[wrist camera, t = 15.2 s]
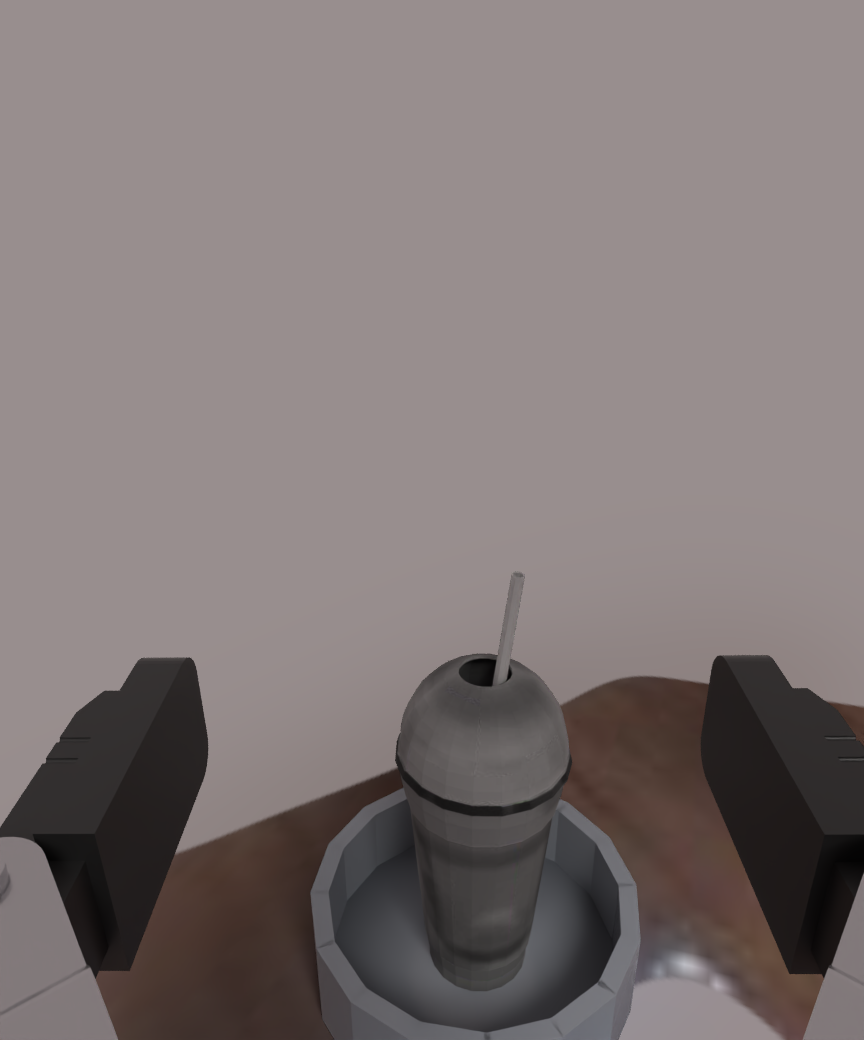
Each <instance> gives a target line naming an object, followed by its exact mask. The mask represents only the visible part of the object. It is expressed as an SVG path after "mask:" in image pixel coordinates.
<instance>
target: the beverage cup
mask: <svg viewBox="0 0 864 1040" xmlns="http://www.w3.org/2000/svg"><path fill="white" fill-rule="evenodd" d="M524 578H525V574H523V573H522V572H516V571H515V572H513V573H512V575H511V581H510V587H509V593H508V598H507V604H506V610H505V617H504V622H503V628H502V633H501V639H500V645H499V650H498V655H493V654H472V655H466V656H461V657H458V658H456V659H454V660H451V661H448V662H447V663H445V664H443V665H441V666H440V667H438V668H437V669H436V670H434V671H433V672H432V673H431V674H429V676H427V678H425V679H424V680H423V681H422V682H421V684H420V685H419V687H418V688H417V689H416V691H415V693H414V694H413V696H412V698H411V699H410V701H409V703H408V705H407V707H406V709H405V712H404V715H403V719H402V723H401V733H400V734H399V737H398V740H397V747H396V759H395V761H396V764H397V766H398V769H399V771H400V776H401V780H402V783H403V787H404V791H405V795H406V798H407V800H408V803H409V806H410V810H411V818H412V826H413V834H414V842H415V850H416V858H417V866H418V874H419V882H420V890H421V898H422V906H423V914H424V922H425V930H426V933H427V935H428V941H429V944H430V955H431V957H432V960H433V963H434V966H435V967H436V969H437V970H438V971H439V973H440V974H441V975H442V976H443V978H445V979H446V980H448V981H449V982H451V983H452V984H454V985H455V986H457V987H460V988H463V989H466V990H470V991H490V990H493V989H496V988H500V987H502V986H504V985H505V984H507V983H508V982H509V981H511V980H512V979H514V978H515V976H516V975H517V973H518V972H519V970H520V969H521V968H522V965H523V961H524V957H525V951H526V946H527V945H528V941H529V937H530V934H531V929H532V924H533V919H534V913H535V908H536V903H537V897H538V892H539V886H540V881H541V876H542V870H543V865H544V860H545V854H546V849H547V844H548V838H549V833H550V828H551V822H552V817H553V816H554V814H555V811H556V808H557V806H558V803H559V800H560V797H561V793H562V790H563V786H564V784H565V783H566V782H567V780H568V776H569V772H570V768H571V765H572V759H571V754H570V750H569V741H568V736H567V731H566V726H565V721H564V717H563V713H562V710H561V708H560V705H559V703H558V701H557V700H556V698H555V697H554V695H553V693H552V692H551V691H550V690H549V688H548V687H547V685H546V684H545V683H544V681H543V680H542V679H541V678H540V677H539V676H538V675H537V674H536V673H534V672H533V671H531V670H530V669H528V668H527V667H525V666H524V665H522V664H521V663H519V662H517V661H515V660H512V659H510V656H511V651H512V645H513V640H514V635H515V629H516V623H517V618H518V612H519V607H520V601H521V595H522V589H523V584H524Z"/></svg>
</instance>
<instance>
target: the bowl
mask: <svg viewBox="0 0 864 1040" xmlns="http://www.w3.org/2000/svg"><path fill="white" fill-rule="evenodd" d="M310 894H311V905H312V917H313V928H314V939H315V951H316V962H317V972H318V982H319V991H320V1001H321V1011H322V1020H323V1021H324V1023H325V1025H326V1026H327V1028H328V1030H329V1031H330V1033H331V1035H332V1036H333V1038H334V1040H618V1039H619V1037H620V1035H621V1032H622V1030H623V1027H624V1025H625V1023H626V1020H627V1018H628V1015H629V1013H630V1010H631V1003H632V996H633V989H634V982H635V975H636V968H637V961H638V955H639V948H640V941H641V939H640V926H639V913H638V900H637V887H636V883H635V882H634V880H633V878H632V876H631V875H630V873H629V871H628V869H627V867H626V866H625V864H624V862H623V860H622V859H621V857H620V855H619V853H618V851H617V850H616V848H615V846H614V844H613V843H612V841H611V839H610V837H608V836H607V835H606V834H605V833H604V832H603V831H601V830H600V829H599V828H598V827H597V826H595V825H594V824H593V823H592V822H591V821H589V820H588V819H587V818H586V817H585V816H583V815H582V814H581V813H580V812H579V811H577V810H576V809H575V808H574V807H573V806H572V805H570V804H569V803H568V802H566V801H563V800H561V799H560V800H559V803H558V806H557V808H556V811H555V814H554V816H553V817H552V822H551V828H550V833H549V838H548V844H547V849H546V854H545V860H544V865H543V870H542V876H541V881H540V886H539V892H538V897H537V903H536V908H535V913H534V919H533V924H532V929H531V934H530V937H529V941H528V945H527V946H526V951H525V957H524V961H523V965H522V968H521V969H520V970H519V972H518V973H517V975H516V976H515V978H514V979H512V980H511V981H509V982H508V983H507V984H505V985H504V986H502V987H500V988H496V989H493V990H490V991H470V990H466V989H463V988H460V987H457V986H455V985H454V984H452V983H451V982H449V981H448V980H446V979H445V978H443V976H442V975H441V974H440V973H439V971H438V970H437V969H436V967H435V966H434V963H433V960H432V957H431V955H430V944H429V941H428V935H427V933H426V930H425V922H424V914H423V906H422V898H421V890H420V882H419V874H418V866H417V858H416V850H415V842H414V834H413V826H412V818H411V810H410V806H409V803H408V800H407V798H406V795H405V791H404V788H402V789H400V790H398V791H396V792H394V793H392V794H389V795H387V796H385V797H383V798H381V799H379V800H377V801H375V802H373V803H371V804H369V805H367V806H365V807H364V808H363V809H362V810H361V811H360V812H359V813H358V814H357V815H356V816H355V817H354V818H353V819H352V820H351V821H350V822H349V823H348V824H347V825H346V826H345V827H344V828H343V830H342V831H341V832H340V833H339V834H338V835H337V836H336V837H335V838H334V839H333V840H332V841H331V842H330V843H329V844H328V847H327V850H326V852H325V855H324V858H323V860H322V863H321V866H320V868H319V871H318V874H317V876H316V879H315V882H314V884H313V887H312V890H311V892H310Z"/></svg>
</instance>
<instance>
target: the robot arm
mask: <svg viewBox="0 0 864 1040" xmlns="http://www.w3.org/2000/svg"><path fill="white" fill-rule="evenodd" d="M701 757H702V764H703V769H704V773H705V776H706V779H707V781H708V784H709V786H710V788H711V791H712V793H713V796H714V798H715V800H716V803H717V805H718V807H719V810H720V812H721V814H722V817H723V819H724V821H725V824H726V826H727V828H728V831H729V833H730V835H731V838H732V840H733V842H734V845H735V847H736V850H737V852H738V854H739V857H740V859H741V861H742V864H743V866H744V868H745V871H746V873H747V875H748V878H749V880H750V882H751V885H752V887H753V889H754V892H755V894H756V896H757V899H758V901H759V904H760V906H761V908H762V911H763V913H764V915H765V918H766V920H767V922H768V925H769V927H770V929H771V932H772V934H773V936H774V939H775V941H776V943H777V946H778V948H779V950H780V953H781V955H782V958H783V960H784V962H785V965H786V967H787V969H788V972H789V974H822V975H823V977H824V981H823V984H822V986H821V989H820V992H819V995H818V998H817V1001H816V1004H815V1006H814V1009H813V1012H812V1015H811V1018H810V1021H809V1023H808V1026H807V1029H806V1032H805V1035H804V1038H803V1040H864V746H863V745H862V744H861V742H860V741H856V735H855V734H854V733H853V731H852V730H851V728H850V727H849V726H848V724H847V723H846V721H845V720H844V719H843V717H842V716H841V714H840V713H839V712H838V710H837V709H835V708H834V707H832V706H831V705H830V704H828V703H827V702H826V701H824V700H823V699H821V698H820V697H819V696H817V695H816V694H815V693H813V692H812V691H811V690H809V689H808V688H799V689H798V688H797V689H796V688H795V689H794V688H792V687H791V686H790V684H789V682H788V681H787V679H786V678H785V676H784V675H783V673H782V672H781V670H780V669H779V667H778V666H777V664H776V663H775V661H774V660H773V659H772V658H771V657H770V656H768V655H755V656H754V655H741V656H740V655H738V656H717V657H716V659H715V660H714V662H713V666H712V670H711V676H710V683H709V689H708V696H707V702H706V709H705V715H704V721H703V728H702V735H701ZM207 759H208V737H207V730H206V724H205V718H204V712H203V706H202V700H201V695H200V688H199V682H198V676H197V670H196V666H195V663H194V661H193V660H192V659H191V658H141V659H140V660H138V662H137V663H136V665H135V666H134V668H133V670H132V671H131V673H130V675H129V676H128V678H127V679H126V681H125V683H124V684H123V686H122V688H121V689H120V691H104V692H102V693H101V694H100V695H98V696H97V697H96V698H94V699H93V700H92V701H91V702H89V703H88V704H87V705H85V706H84V707H83V708H82V709H80V710H79V711H78V712H76V714H75V715H74V717H73V718H72V720H71V722H70V723H69V725H68V726H67V727H66V729H65V731H64V732H63V733H62V735H61V737H60V742H59V743H56V744H55V746H54V747H53V749H52V750H51V752H50V753H49V755H48V756H47V758H46V763H45V764H42V765H41V767H40V768H39V770H38V771H37V773H36V774H35V776H34V777H33V779H32V780H31V782H30V783H29V785H28V786H27V788H26V789H25V791H24V792H23V794H22V795H21V797H20V798H19V800H18V801H17V803H16V805H15V806H14V808H13V809H12V811H11V812H10V814H9V815H8V817H7V818H6V820H5V821H4V823H3V824H2V826H1V827H0V1040H118V1038H117V1035H116V1033H115V1030H114V1027H113V1025H112V1022H111V1019H110V1017H109V1014H108V1012H107V1009H106V1006H105V1004H104V1001H103V998H102V996H101V993H100V990H99V988H98V985H97V983H96V980H95V979H96V976H97V974H98V971H130V968H131V966H132V963H133V960H134V958H135V955H136V953H137V950H138V948H139V945H140V942H141V940H142V937H143V935H144V932H145V929H146V927H147V924H148V922H149V919H150V916H151V914H152V911H153V909H154V906H155V903H156V901H157V898H158V896H159V893H160V891H161V888H162V885H163V883H164V880H165V878H166V875H167V872H168V870H169V867H170V865H171V862H172V859H173V857H174V854H175V852H176V849H177V846H178V844H179V841H180V838H181V836H182V834H183V831H184V828H185V826H186V823H187V821H188V818H189V815H190V813H191V810H192V807H193V805H194V802H195V800H196V797H197V794H198V792H199V789H200V787H201V784H202V782H203V779H204V776H205V772H206V767H207Z"/></svg>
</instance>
